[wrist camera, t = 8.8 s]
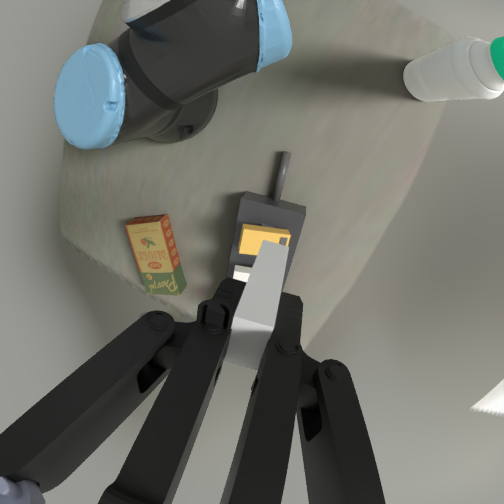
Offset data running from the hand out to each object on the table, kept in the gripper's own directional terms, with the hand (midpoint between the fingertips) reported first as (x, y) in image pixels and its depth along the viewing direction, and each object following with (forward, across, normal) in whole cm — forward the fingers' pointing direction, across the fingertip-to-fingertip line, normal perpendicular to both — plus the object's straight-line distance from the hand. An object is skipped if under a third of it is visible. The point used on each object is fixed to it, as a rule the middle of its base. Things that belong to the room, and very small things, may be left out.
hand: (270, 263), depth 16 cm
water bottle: (+30, +16, +21) cm, 40 cm away
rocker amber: (+23, -2, -10) cm, 25 cm away
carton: (+30, -22, -22) cm, 43 cm away
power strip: (+29, -2, -14) cm, 32 cm away
